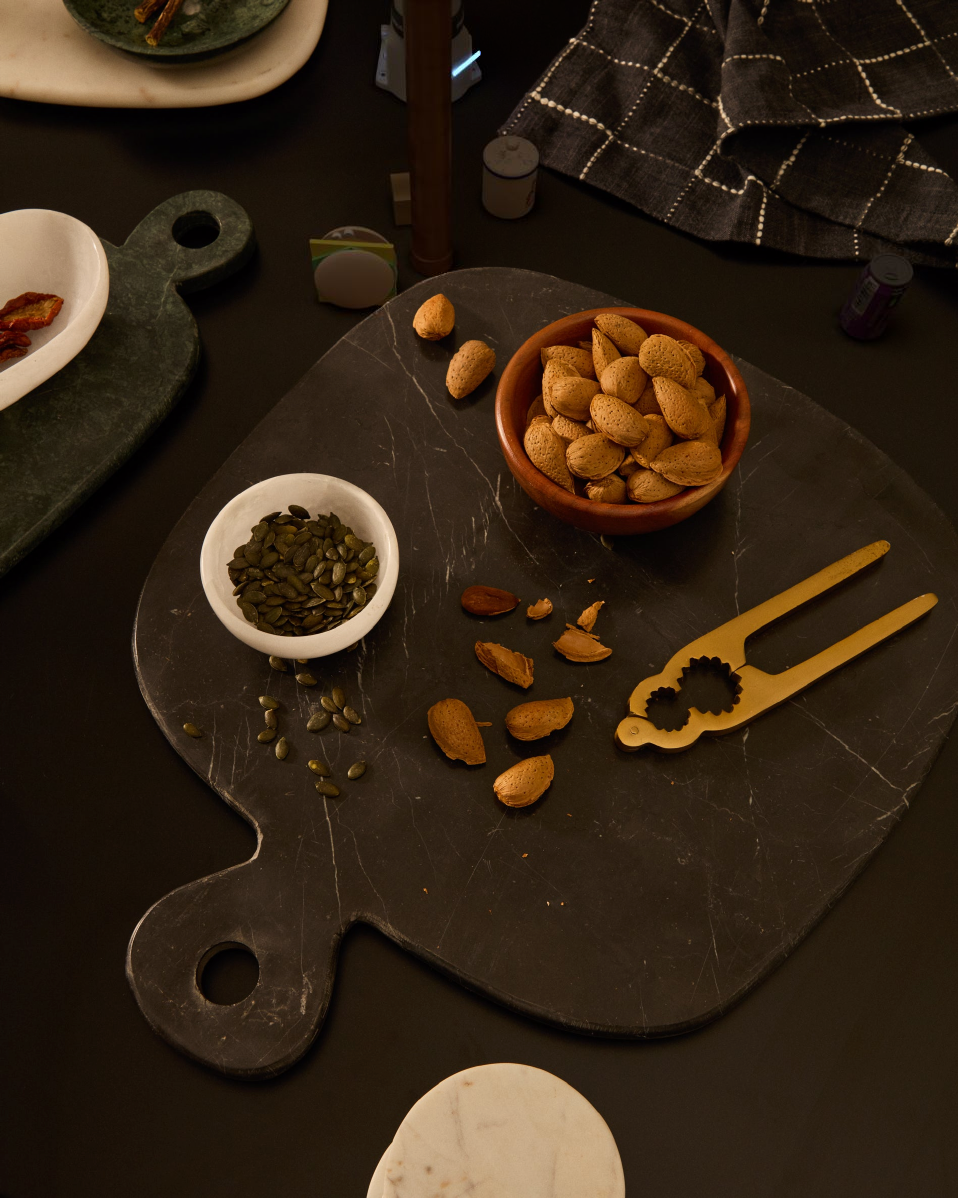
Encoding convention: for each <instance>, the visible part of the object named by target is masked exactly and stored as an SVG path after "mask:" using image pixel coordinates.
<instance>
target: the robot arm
mask: <svg viewBox="0 0 958 1198" xmlns="http://www.w3.org/2000/svg"><path fill="white" fill-rule="evenodd" d="M464 22H465V8H464V1H463V0H452V103H454V102H456V101H457V100H459V99H460V98H462V97H463V96H464V95H465V93H466V92H467V91H468V89H470V88H471V87H472V86H474V85H475V84H478V83H479V82H480V81H481V80H482V79H483V78H482V70H481V69H480V67H479V65H478V62H477V60H476V59H477V58H479V56H481V51H480V50H478V51H477V52H476V53H474V54H473V39H472V35H471V34H470V33H469V30H468V29H467V27H466V26H465V24H464ZM380 39H381V45H380V49H379V50H380V51H379V56H378V62H377V68H376V74H375V86H377V87H378V88H380V89H382V90H385V91H387V92H388V91H389V92H390V93H391V94H393V95H394V96H395V97H397V98H398V99H399V100H400V101H403V102H405V103H406V80H405V57H404V33H403V9H402V0H391V7H390V22H389V24H381V25H380Z"/></svg>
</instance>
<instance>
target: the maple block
mask: <svg viewBox="0 0 958 1198" xmlns="http://www.w3.org/2000/svg"><path fill="white" fill-rule="evenodd" d="M389 176H390V189H391V191H390V192H391V203H392V209H393V215H394V222H395V226H407V225H408V226H409V225H412V222H411V198H410V175H409V172H399V173H390V175H389Z"/></svg>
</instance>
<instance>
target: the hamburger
mask: <svg viewBox="0 0 958 1198" xmlns="http://www.w3.org/2000/svg"><path fill="white" fill-rule="evenodd" d="M394 246H395V245H394V244H392V243H390V242H389V241H388V240H387V239H386V238H385V237H383V236H382V235H381V234H379V233H378V232H376V231H374V230H372V229H370V228H366V227H362V226H356V225H355V226H354V225H351V226H350V225H349V226H348V225H347V226H341V227H338V228H335V229H333V230H331V231H329V232H328V233H327V234H324V236H323V237H322V238H321V239H318V238H317V239H314V238H310V239H309V248H310V254H311V265H312V271H313V276H314V277H313V278H314V285H315V288H316V291H317V297H318V301H319V302H320V303H331V304H333V305H335V306H338V307H341V308H345V309H353V310H356V309H357V310H359V309H366V308H369V307H373V306H381V307H383V306H382V305H383V304H384V303H386V302H387V301H388V300H390V299H391V298H393V297H395V296H396V295H397V281H398V269H397V268H398V259H397V254H396V251H395V249H394ZM397 296H398V295H397Z"/></svg>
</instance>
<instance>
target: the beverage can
mask: <svg viewBox="0 0 958 1198" xmlns="http://www.w3.org/2000/svg"><path fill="white" fill-rule="evenodd" d="M913 275H914V268H913V266H912V264H911V263H910V262H909V260H907V259H906V258H905V257H903V256H902V255H900V254H897V253H894V252H881V253H879V254H877V255H875V256H874V257H873V258H872V259H871V261H870V262H868V263H867V264H866V265H865V266H864V267H863V269H862V271H861V272H860V274H859V277H858V278H857V281H856V283H855V284H854V285H853V288H852V290H851V291H850V294H849V296H848V297H847V300H846V302H845V304H844V305H843V307H842V309H841V311H840V312H839V319H838V321H839V324H840V326H841V328H842V329H843V330H844V332H845V333H847V334H848V335H850V336H852V337H853V338H856V339H859V340H866V341H867V340H873V339H877V338H878V337H880V336H882V334H883V333H884V331H885V329H886V328H887V326H888V324H889V323H890V321H891V320H892V318H893V317H894V314H895V313H896V311H897V309H898V308H899V307H900V304H901V303H902V301H903V299H904V298H905V296H906V295H907V293H908V291H909V289H910V288H911V283H912V277H913Z"/></svg>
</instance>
